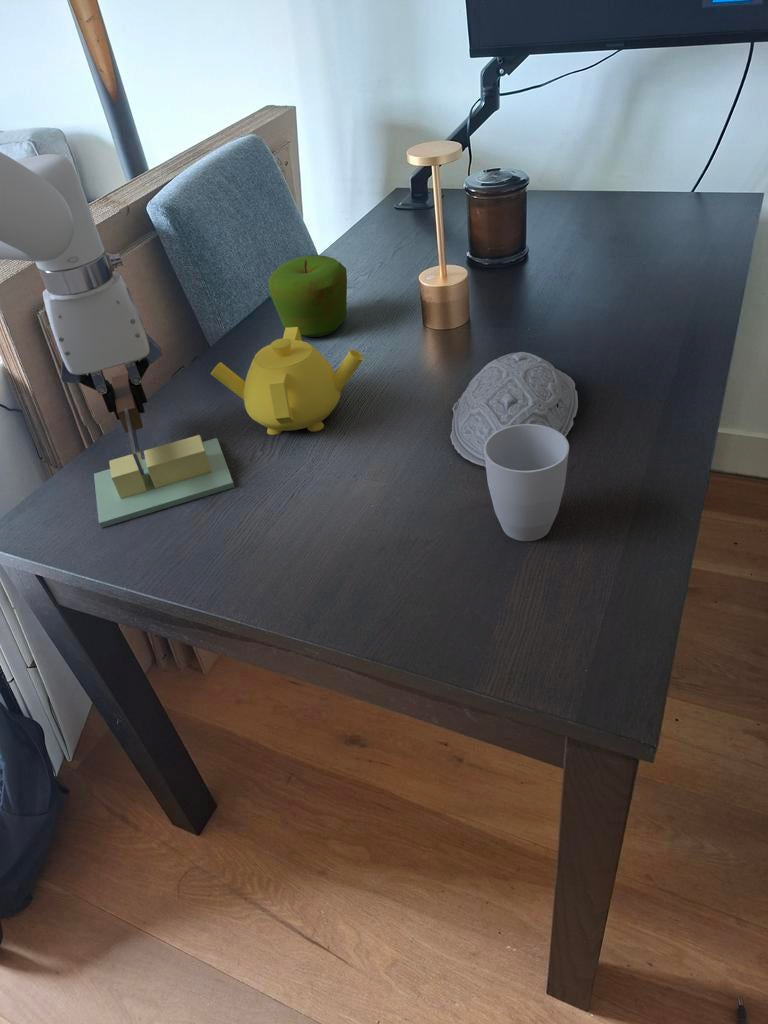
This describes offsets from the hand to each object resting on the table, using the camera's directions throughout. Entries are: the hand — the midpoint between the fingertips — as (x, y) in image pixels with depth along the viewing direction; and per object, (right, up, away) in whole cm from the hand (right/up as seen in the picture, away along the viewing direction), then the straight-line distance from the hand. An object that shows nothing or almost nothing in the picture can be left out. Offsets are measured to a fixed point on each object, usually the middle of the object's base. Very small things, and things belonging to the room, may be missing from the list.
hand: (130, 410), depth 98 cm
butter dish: (+6, -10, -4) cm, 12 cm away
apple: (+22, +16, +25) cm, 37 cm away
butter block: (+8, -8, -4) cm, 12 cm away
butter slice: (+2, -10, -6) cm, 12 cm away
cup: (+48, -15, -18) cm, 53 cm away
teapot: (+21, -1, +4) cm, 22 cm away
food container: (+49, -1, -2) cm, 49 cm away
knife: (+2, -3, -4) cm, 5 cm away
